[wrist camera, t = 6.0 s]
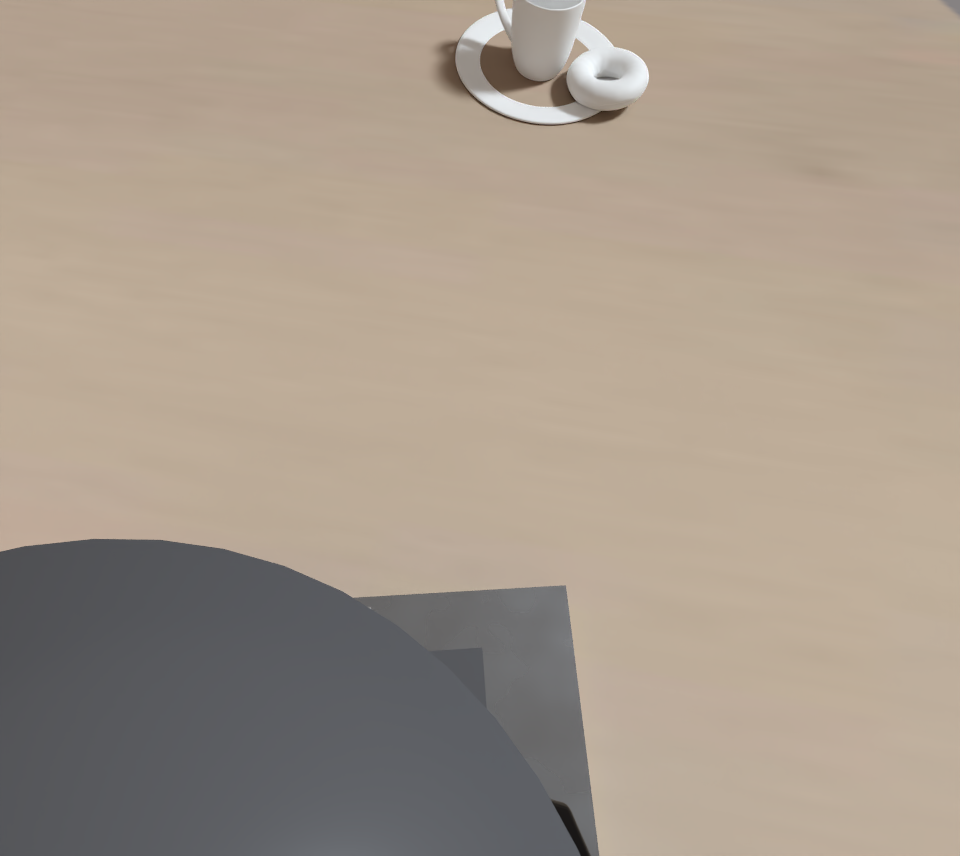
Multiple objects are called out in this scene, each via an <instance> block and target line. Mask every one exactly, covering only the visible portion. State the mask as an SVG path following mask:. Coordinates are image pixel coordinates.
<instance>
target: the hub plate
mask: <svg viewBox="0 0 960 856" xmlns="http://www.w3.org/2000/svg"><path fill="white" fill-rule="evenodd" d="M354 599H355V600H357V601H359V602H360V603H362V604H363V605H365V606H367V607H368V608H370V609H372V610H373V611H375V612H377V613H378V614H380V615H381V616H383V617H385V618H386V619H388V620H390V621H391V622H393V623H394V624H396V625H397V626H399V627H400V628H401V629H402V630H404V631H405V632H406V633H407V634H408V635H410V636H411V637H412V638H413V639H414V640H416V641H417V642H418V643H419V644H421V645H422V646H423V647H424V648H425V649H427V650H428V651H438V650H453V649H468V648H482V650H483V664H484V678H485V692H486V706H487V709H488V711H489V712H490V713H491V714H492V715H493V716H494V717H495V718H496V719H497V721H498V722H499V724H500V725H501V726H502V728H503V729H504V731H505V732H506V733H507V735H508V736H509V738H510V739H511V740H512V742H513V743H514V744H515V746H516V747H517V749H518V750H519V751H520V753H521V754H522V756H523V757H524V758H525V760H526V761H527V763H528V764H529V765H530V767H531V768H532V770H533V771H534V772H535V774H536V775H537V777H538V778H539V779H540V781H541V783H542V785H543V787H544V789H545V790H546V792H547V794H548V796H549V798H550V799H553V800H557V801H560V802H563V803H565V804H567V805H568V806H569V808H570V809H571V811H572V814H573V816H574V818H575V821H576V823H577V825H578V827H579V830H580V832H581V834H582V837H583V839H584V841H585V843H586V846H587V848H588V850H589V852H590V855H591V856H599V851H598V843H597V835H596V827H595V819H594V811H593V802H592V794H591V786H590V778H589V770H588V762H587V754H586V746H585V737H584V729H583V721H582V713H581V705H580V697H579V689H578V681H577V673H576V664H575V656H574V648H573V640H572V632H571V624H570V616H569V608H568V600H567V591H566V586H549V587H532V588H515V589H497V590H480V591H463V592H446V593H429V594H412V595H395V596H377V597H360V598H354Z"/></svg>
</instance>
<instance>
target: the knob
mask: <svg viewBox="0 0 960 856" xmlns="http://www.w3.org/2000/svg"><path fill="white" fill-rule="evenodd" d="M0 856H580V853H579V851H578V849H577V847H576V845H575V843H574V841H573V840H572V838H571V836H570V834H569V832H568V831H567V829H566V827H565V825H564V823H563V821H562V820H561V818H560V816H559V814H558V812H557V810H556V809H555V807H554V805H553V803H552V801H551V800H550V798H549V796H548V794H547V792H546V790H545V789H544V787H543V785H542V783H541V781H540V779H539V778H538V777H537V775H536V774H535V772H534V771H533V770H532V768H531V767H530V765H529V764H528V763H527V761H526V760H525V758H524V757H523V756H522V754H521V753H520V751H519V750H518V749H517V747H516V746H515V744H514V743H513V742H512V740H511V739H510V738H509V736H508V735H507V733H506V732H505V731H504V729H503V728H502V726H501V725H500V724H499V722H498V721H497V719H496V718H495V717H494V716H493V715H492V714H491V713H490V712H489V711H488V709H487V706H486V692H485V678H484V664H483V650H482V648H468V649H453V650H438V651H428V650H427V649H425V648H424V647H423V646H422V645H421V644H419V643H418V642H417V641H416V640H414V639H413V638H412V637H411V636H410V635H408V634H407V633H406V632H405V631H404V630H402V629H401V628H400V627H399V626H397V625H396V624H394V623H393V622H391V621H390V620H388V619H386V618H385V617H383V616H381V615H380V614H378V613H377V612H375V611H373V610H372V609H370V608H368V607H367V606H365V605H363V604H362V603H360V602H359V601H357V600H355V599H354V598H352V597H350V596H349V595H347V594H346V593H344V592H342V591H340V590H338V589H336V588H333V587H331V586H329V585H326V584H324V583H322V582H319V581H317V580H315V579H313V578H310V577H308V576H306V575H303V574H301V573H299V572H297V571H294V570H292V569H290V568H287V567H285V566H282V565H278V564H275V563H271V562H268V561H264V560H261V559H257V558H254V557H250V556H247V555H243V554H239V553H236V552H232V551H229V550H225V549H220V548H213V547H206V546H199V545H192V544H185V543H178V542H170V541H163V540H123V539H90V540H80V541H71V542H62V543H52V544H43V545H34V546H24V547H20V548H15V549H11V550H6V551H2V552H0Z"/></svg>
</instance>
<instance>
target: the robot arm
mask: <svg viewBox="0 0 960 856" xmlns="http://www.w3.org/2000/svg"><path fill="white" fill-rule="evenodd" d="M550 800H551V801H552V803H553V805H554V807H555V809H556V810H557V812H558V814H559V816H560V818H561V820H562V821H563V823H564V825H565V827H566V829H567V831H568V832H569V834H570V836H571V838H572V840H573V841H574V843H575V845H576V847H577V849H578V851H579V853H580V856H591V855H590V852H589V850H588V848H587V846H586V843H585V841H584V839H583V837H582V834H581V832H580V830H579V827H578V825H577V823H576V821H575V818H574V816H573V814H572V811H571V809H570V808H569V806H568V805H567V804H565V803H563V802H560V801H557V800H553V799H550Z"/></svg>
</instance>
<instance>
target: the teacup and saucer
mask: <svg viewBox="0 0 960 856" xmlns="http://www.w3.org/2000/svg"><path fill="white" fill-rule="evenodd" d="M585 2H586V0H513V7H512V8H511V9H506V8H505V4H504V0H495V3H496V8H497V12H494V13H492V14H489V15H487V16H485V17H483V18H481V19H479V20H478V21H476V22H475V23H473V24H472V25H471V26H470V27H469V28H468V29H467V30H466V31H465V32H464V34H463V35H462V37H461V38H460V40H459V42H458V45H457V49H456V54H455V62H456V68H457V71H458V74H459V77H460V79H461V80H462V82H463V84H464V85H465V87H466V88H467V89H468V90H469V92H470V93H471V94H472V95H473V96H474V97H475V98H476V99H478V100H479V101H480V102H481V103H483V104H484V105H486V106H487V107H489V108H490V109H492V110H494V111H496V112H498V113H500V114H502V115H505V116H507V117H510V118H513V119H516V120H519V121H524V122H528V123H535V124H547V125H554V124H566V123H572V122H577V121H580V120H583V119H586V118H589V117H591V116H593V115H595V114H597V113H599V112H600V111H611V110H618V109H622V108H624V107H627V106H629V105H631V104H633V103H634V102H635V101H637V100H638V99H639V98H640V97H641V95H642V94H643V92H644V91H645V89H646V87H647V84H648V80H649V73H648V69H647V67H646V64H645V63H644V61H643V60H642V59H641V58H640V57H638V56H637V55H636V54H634V53H632V52H630V51H628V50H625V49H621V48H615V47H614V46H613V45H612V44H611V42H610V41H609V40H608V39H607V38H606V37H605V36H604V35H603V34H602V33H601V32H600V31H598V30H597V29H596V28H594V27H593V26H591V25H590V24H588V23H586V22H585V21H583V20H581V17H582V13H583V10H584V6H585ZM503 30H505V32H506V34H507V35H508V37H509V39H510V41H511V44H512V54H513V60H514V63H515V66H516V68H517V70H518V72H519V73H520V74H521V75H523V76H524V77H526V78H528V79H530V80H534V81H547V80H550V79H553V78H554V77H556V76H557V75H558V73H559V72H560V71H561V70H562V68H563V67H564V65H565V63H566V61H567V59H568V57H569V54H570V52H571V49H572V46H573V43H574V40H575V38H576V39H578V40H579V41H581V42H582V43H583V44H584V45H585V46H586V47H587V48H588V49H589V50H590V51H587V52H585V53H583V54H581V55H580V56H579V57H577V58H576V59H575V60H574V61H573V63H572V64H571V65H570V67H569V69H568V72H567V78H566V81H567V85H568V89H569V91H570V93H571V95H572V96H573V98H574V99H575V100H576V102H573V103H570V104H567V105H563V106H557V107H537V106H531V105H526V104H523V103H520V102H517V101H514V100H512V99H510V98H508V97H506V96H504V95H503V94H501V93H500V92H498V91H497V90H496V89H495V88H494V87H492V86H491V84H490V83H489V82H488V81H487V79H486V78H485V76H484V74H483V72H482V70H481V66H480V55H481V51H482V49H483V47H484V45H485V44H486V43H487V41H488V40H489V39H490V38H491V37H493V36H494V35H495V34H497V33H499V32H501V31H503Z"/></svg>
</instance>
